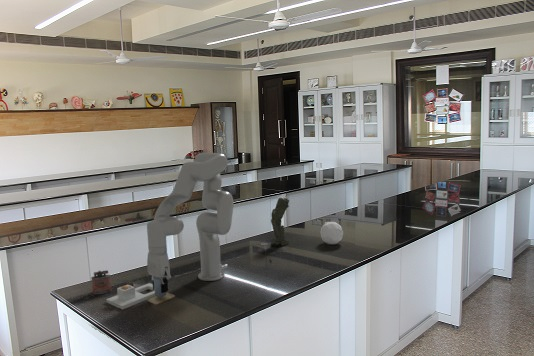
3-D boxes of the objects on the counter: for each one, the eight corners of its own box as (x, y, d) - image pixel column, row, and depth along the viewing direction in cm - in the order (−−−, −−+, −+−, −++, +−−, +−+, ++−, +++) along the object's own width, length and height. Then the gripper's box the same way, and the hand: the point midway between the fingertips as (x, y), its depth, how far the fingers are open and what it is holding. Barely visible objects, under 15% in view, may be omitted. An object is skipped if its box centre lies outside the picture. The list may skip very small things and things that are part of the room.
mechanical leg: (272, 247, 257) (279, 198, 258) (264, 245, 263) (272, 196, 263) (289, 248, 266) (296, 200, 266) (281, 245, 271) (288, 198, 271)
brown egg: (127, 294, 194) (126, 284, 194) (131, 296, 192) (130, 286, 192) (121, 296, 192) (121, 286, 191) (125, 298, 190) (124, 288, 190)
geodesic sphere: (310, 235, 263) (323, 218, 257) (319, 229, 275) (332, 213, 269) (329, 252, 259) (343, 235, 253) (337, 245, 271) (350, 229, 265)
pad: (166, 293, 199) (166, 292, 199) (175, 296, 195) (174, 295, 195) (147, 301, 192) (147, 299, 192) (156, 304, 188) (155, 303, 188)
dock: (149, 286, 209) (148, 273, 208) (166, 291, 201) (165, 279, 200) (106, 302, 192) (105, 289, 191) (122, 309, 184) (121, 295, 183)
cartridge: (161, 291, 197) (160, 271, 195) (169, 293, 193) (167, 273, 192) (152, 295, 193) (150, 274, 192) (159, 297, 190) (158, 277, 188)
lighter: (92, 294, 200) (90, 273, 199) (93, 292, 204) (91, 271, 202) (111, 292, 203) (109, 271, 201) (111, 289, 206) (109, 268, 204)
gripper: (138, 248, 193) (141, 288, 195) (163, 255, 182) (166, 298, 185) (152, 244, 199) (155, 283, 201) (177, 250, 188) (180, 292, 190)
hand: (160, 290), depth 193 cm, fingers closed on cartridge, 4 cm apart
